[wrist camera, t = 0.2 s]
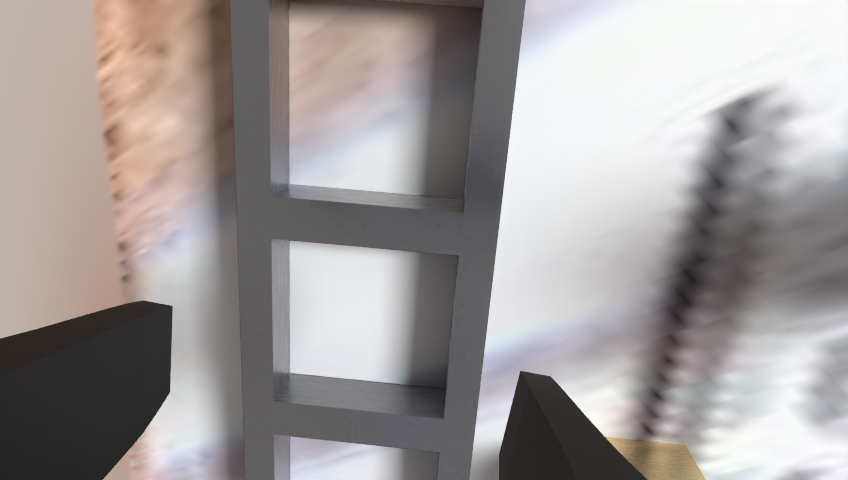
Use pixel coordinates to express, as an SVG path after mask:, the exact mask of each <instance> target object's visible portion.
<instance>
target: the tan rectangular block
mask: <svg viewBox="0 0 848 480" xmlns="http://www.w3.org/2000/svg"><path fill="white" fill-rule="evenodd" d="M605 438H606V439H607V440H608V441H609V442H610V443H611V444H612V445H613V446H614V447H615V448H616V449H617V450H618V451H619V452H620V453H621V454H622V455H623V456H624V457H625V458H626V459H627V460H628V461H629V462H630V463H631V464H632V465H633V466H634V467H635V468H636V469H637V470H638V471H639V472H640V473H641V474H642V475H643V476H644V477H645V478H646V479H648V480H705V478H704V476H703V475H702V473H701V471H700V470H699V468H698V466H697V465H696V463H695V461H694V459H693V458H692V456H691V454H690V453H689V451H688V449H687V448H686V446H685V445H677V444H668V443H658V442H649V441H639V440H630V439H620V438H611V437H605Z"/></svg>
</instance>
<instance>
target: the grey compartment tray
mask: <svg viewBox="0 0 848 480" xmlns="http://www.w3.org/2000/svg"><path fill="white" fill-rule="evenodd" d="M378 1H392V2H406V3H421V4H435V5H449V6H463V7H477V8H482V16H481V27H480V37H479V48H478V58H477V68H476V79H475V89H474V99H473V110H472V120H471V131H470V141H469V151H468V162H467V172H466V182H465V193H464V199H453V198H441V197H430V196H418V195H406V194H395V193H383V192H372V191H360V190H349V189H337V188H325V187H314V186H302V185H291V184H289V0H230V21H231V52H232V83H233V114H234V145H235V176H236V207H237V238H238V269H239V300H240V331H241V362H242V393H243V424H244V455H245V480H290V436H293V437H302V438H311V439H321V440H330V441H339V442H348V443H358V444H367V445H376V446H385V447H395V448H404V449H413V450H423V451H432V452H439V463H438V473H437V480H469V476H470V467H471V459H472V450H473V442H474V433H475V425H476V416H477V408H478V399H479V391H480V382H481V374H482V365H483V357H484V348H485V340H486V331H487V323H488V315H489V306H490V298H491V289H492V281H493V272H494V264H495V255H496V247H497V238H498V230H499V221H500V213H501V204H502V196H503V187H504V179H505V170H506V162H507V153H508V145H509V137H510V128H511V120H512V111H513V103H514V94H515V86H516V77H517V69H518V60H519V52H520V43H521V35H522V26H523V18H524V9H525V1H526V0H378ZM289 240H293V241H304V242H315V243H325V244H336V245H347V246H358V247H369V248H380V249H391V250H402V251H413V252H424V253H435V254H446V255H457V256H458V265H457V276H456V286H455V297H454V307H453V317H452V328H451V338H450V348H449V359H448V369H447V380H446V389H437V388H427V387H417V386H407V385H398V384H388V383H378V382H368V381H359V380H349V379H339V378H329V377H320V376H310V375H300V374H290V331H289Z"/></svg>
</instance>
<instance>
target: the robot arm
mask: <svg viewBox="0 0 848 480" xmlns="http://www.w3.org/2000/svg"><path fill="white" fill-rule="evenodd" d="M171 339H172V306H169V305H164V304H159V303H153V302H148V301H139V302H133V303H128V304H124V305H120V306H116V307H112V308H109V309H105V310H101V311H98V312H95V313H91V314H87V315H84V316H81V317H77V318H74V319H70V320H67V321H63V322H60V323H57V324H53V325H49V326H46V327H43V328H39V329H36V330H32V331H28V332H24V333H20V334H16V335H13V336H9V337H5V338H1V339H0V480H102V479H104V477H105V476H106V475H107V474H108V473H109V472H110V471H111V470H112V468H113V467H114V466H115V465H116V464H117V463H118V462H119V460H120V459H121V458H122V457H123V456H124V455H125V453H126V452H127V451H128V450H129V449H130V448H131V447H132V445H133V444H134V443H135V442H136V441H137V440H138V438H139V437H140V436H141V435H142V434H143V432H144V431H145V429H146V428H147V426H148V425H149V424H150V422H151V421H152V419H153V418H154V416H155V415H156V413H157V412H158V410H159V409H160V407H161V405H162V404H163V402H164V401H165V399H166V398H167V396H168V394H169V393H170V371H171ZM499 480H648V479H646V478H645V477H644V476H643V475H642V474H641V473H640V472H639V471H638V470H637V469H636V468H635V467H634V466H633V465H632V464H631V463H630V462H629V461H628V460H627V459H626V458H625V457H624V456H623V455H622V454H621V453H620V452H619V451H618V450H617V449H616V448H615V447H614V446H613V445H612V444H611V443H610V442H609V441H608V440H607V439H606V438H605V437H604V436H603V434H602V433H601V432H600V431H599V430H598V429H597V428H596V427H595V426H594V425H593V424H592V422H591V421H590V420H589V419H588V418H587V417H586V416H585V415H584V413H583V412H582V411H581V410H580V409H579V408H578V407H577V405H576V404H575V403H574V402H573V401H572V400H571V399H570V397H569V396H568V395H567V394H566V393H565V392H564V391H563V389H562V388H561V387H560V386H559V385H558V384H557V383H556V382H555V381H554V380H553V379H552V378H551V377H550V376H545V375H540V374H534V373H529V372H523V371H520V375H519V379H518V382H517V386H516V390H515V394H514V398H513V402H512V406H511V410H510V414H509V418H508V422H507V426H506V430H505V434H504V438H503V442H502V446H501V450H500V454H499Z"/></svg>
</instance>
